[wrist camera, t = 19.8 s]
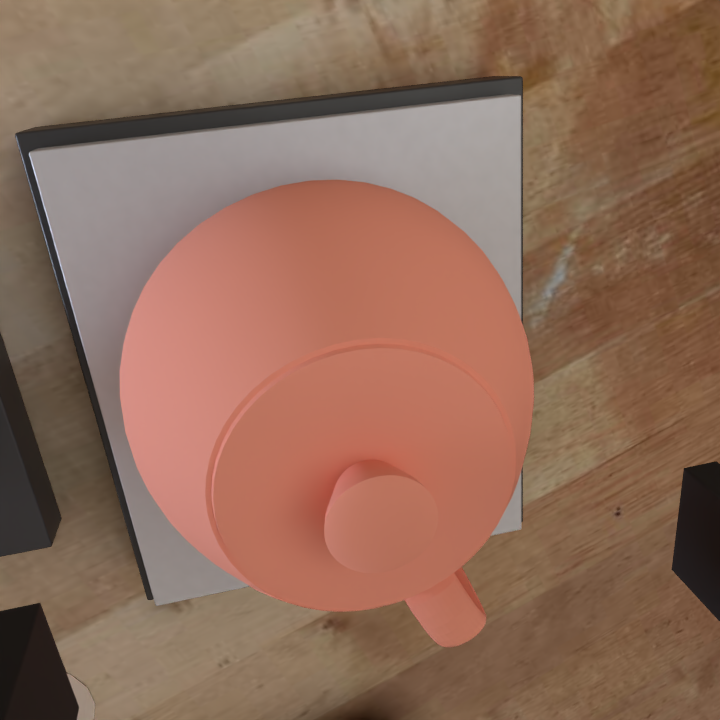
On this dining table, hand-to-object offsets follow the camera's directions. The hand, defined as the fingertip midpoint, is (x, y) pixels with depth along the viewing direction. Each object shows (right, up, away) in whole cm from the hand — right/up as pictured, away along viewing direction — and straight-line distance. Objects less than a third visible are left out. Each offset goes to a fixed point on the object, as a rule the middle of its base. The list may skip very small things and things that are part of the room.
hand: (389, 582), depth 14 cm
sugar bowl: (-2, +4, +10) cm, 11 cm away
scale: (-3, +5, +13) cm, 15 cm away
